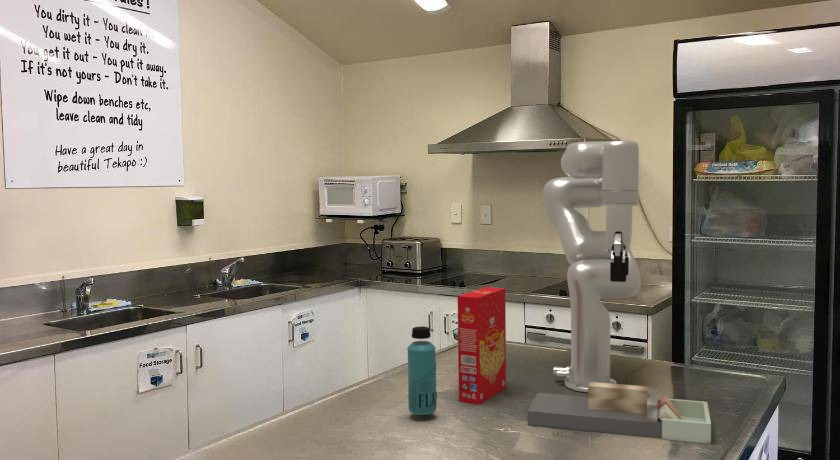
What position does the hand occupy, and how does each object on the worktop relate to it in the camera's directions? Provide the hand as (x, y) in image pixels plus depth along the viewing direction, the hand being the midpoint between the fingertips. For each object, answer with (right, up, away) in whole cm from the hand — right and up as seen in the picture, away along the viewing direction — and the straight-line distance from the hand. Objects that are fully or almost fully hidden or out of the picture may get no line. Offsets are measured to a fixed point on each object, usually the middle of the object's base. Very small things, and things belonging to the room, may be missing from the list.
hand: (619, 278), depth 153 cm
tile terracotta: (+9, -28, -3) cm, 30 cm away
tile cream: (+7, -29, -9) cm, 31 cm away
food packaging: (-28, -30, +19) cm, 45 cm away
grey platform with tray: (-1, -31, -2) cm, 31 cm away
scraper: (0, -28, -3) cm, 28 cm away
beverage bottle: (-43, -31, +4) cm, 53 cm away
